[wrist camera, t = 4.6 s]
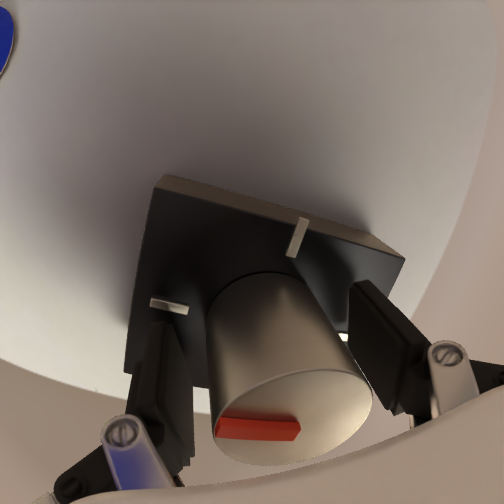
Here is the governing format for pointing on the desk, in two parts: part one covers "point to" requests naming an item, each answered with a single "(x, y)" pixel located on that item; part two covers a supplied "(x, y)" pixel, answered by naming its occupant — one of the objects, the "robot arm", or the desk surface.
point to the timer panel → (239, 262)
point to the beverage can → (5, 37)
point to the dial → (279, 374)
